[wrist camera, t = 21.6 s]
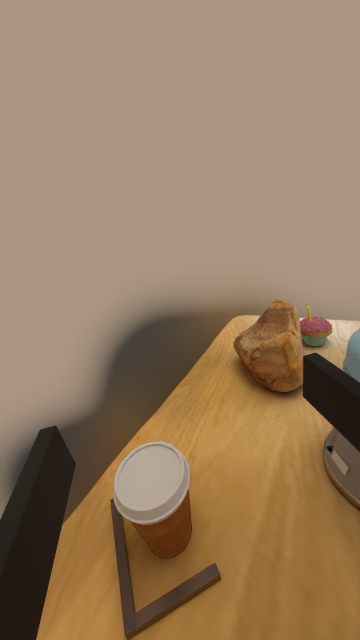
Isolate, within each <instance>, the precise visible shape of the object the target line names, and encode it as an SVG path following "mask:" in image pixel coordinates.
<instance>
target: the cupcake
mask: <svg viewBox="0 0 360 640" xmlns="http://www.w3.org/2000/svg"><path fill="white" fill-rule="evenodd" d="M307 312H308V318H305V319H303V320H302V321H300V327H301V335H302V337H303V340H304V343H305V344H307V345H309V346H320V345H322V344H323V343H324V341H325V339H326V337H327V336H328V335H330V334H331V333H332V325H331V324H330V323H329V322H328V321H327V320H325V319H323V318H318V317H311V314H310V307H309V306H308V304H307Z"/></svg>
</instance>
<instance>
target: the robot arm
mask: <svg viewBox="0 0 360 640" xmlns="http://www.w3.org/2000/svg"><path fill="white" fill-rule="evenodd" d="M343 370H344V371H342V370H341V369H340V368H338V367H337V366H335V365H334V364H332V363H331V362H329V361H328V360H326V359H325V358H323V357H322V356H320V355H319V354H318V353H312V354H309V355H305V356H303V397H304V398H305V399H306V400H307V401H308V402H309V403H310V404H311V405H312V406H313V407H314V408H315V409H316V410H317V411H318V412H319V413H320V414H321V415H322V416H323V417H324V418H325V419H326V420H327V421H328V422H329V423H330V424H332V425H333V426H334V427H333V428H332V430H331V431H330V433H329V434H328V436H327V438H326V440H325V444H324V464H325V468H326V470H327V473H328V475H329V477H330V479H331V480H332V482H333V483H334V485H335V486H336V488H337V489H338V490H339V491H340V492H341V494H342V495H343V496H344V497H345V498H346V499H347V500H348V501H350V502H351V503H352V504H353V505H354V506H355V507H357V508H358V509H359V510H360V329H358V330H357V331H356V332H355V333H354V334H353V335H352V336H351V338H350V339H349V342H348V346H347V353H346V357H345V359H344V362H343ZM75 465H76V464H75V462H74V460H73V458H72V456H71V454H70V452H69V450H68V448H67V446H66V444H65V442H64V440H63V438H62V436H61V434H60V432H59V430H58V428H57V426H52V427H48V428H45V429H42V430H40V431H39V433H38V435H37V438H36V440H35V442H34V445H33V447H32V449H31V451H30V454H29V456H28V458H27V461H26V463H25V465H24V467H23V470H22V472H21V474H20V477H19V479H18V481H17V483H16V486H15V488H14V490H13V493H12V495H11V497H10V499H9V501H8V504H7V506H6V508H5V511H4V513H3V515H2V517H1V520H0V640H36V638H37V633H38V629H39V624H40V620H41V616H42V611H43V607H44V602H45V598H46V593H47V589H48V585H49V580H50V576H51V571H52V567H53V563H54V558H55V554H56V549H57V545H58V540H59V536H60V532H61V527H62V522H63V518H64V514H65V509H66V505H67V501H68V496H69V492H70V487H71V483H72V478H73V474H74V470H75Z"/></svg>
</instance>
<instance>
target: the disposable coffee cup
mask: <svg viewBox="0 0 360 640" xmlns="http://www.w3.org/2000/svg"><path fill="white" fill-rule="evenodd" d="M189 483H190V468H189V464H188V462H187V460H186V458H185V457H184V455H183V454H182V453H181V452H180V451H179V450H178V449H177V448H175V447H174V446H173V445H171V444H169V443H166V442H151V443H147V444H143V445H141V446H139V447H137V448H136V449H134V450H133V451H132V452H131V453H129V454H128V455H127V456H126V457H125V459H124V460H123V461H122V463H121V464H120V466H119V468H118V470H117V473H116V476H115V484H114V489H113V498H114V502H115V505H116V507H117V509H118V511H119V513H120V514H121V515H122V516H123V517H124V518H125V519H127V520H129V521H131V523H132V524H133V525H134V527H135V528H136V529H137V531H138V532H139V534H140V535H141V536H142V538H143V539H144V540H145V542H146V543H147V544H148V546H149V547H150V548H151V550H152V551H153V552H154V554H156V555H157V556H159V557H162V558H171V557H174V556H176V555H178V554H179V553H181V552H182V551H183V550H184V549H185V547H186V546H187V544H188V542H189V540H190V537H191V531H192V525H191V513H190V499H189Z"/></svg>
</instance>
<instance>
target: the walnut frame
mask: <svg viewBox="0 0 360 640" xmlns="http://www.w3.org/2000/svg"><path fill="white" fill-rule="evenodd" d="M111 509H112V518H113V528H114V537H115V546H116V555H117V565H118V574H119V583H120V592H121V602H122V611H123V620H124V629H125V636H126V638H127V640H129V639H130V638H132V637H133V636H135V635H136V634H138V632H141V631H142V630H144V629H145V628H147V627H149V626H150V625H152V624H153V623H155V622H156V621H158V620H159V619H161V618H162V617H164V616H165V615H167V614H168V613H170V612H171V611H173V610H174V609H176V608H178V607H179V606H181V605H182V604H184V603H185V602H187V601H188V600H190V599H191V598H193V597H194V596H196V595H197V594H199V593H200V592H202V591H204V590H205V589H207V588H208V587H210V586H211V585H213V584H214V583H216V582H217V581H219V580H220V579H221V577H220V573H219V571H218V568H217V566H216V564H215V563H214V564H213V565H211V566H209V567H208V568H206V569H205V570H203V571H201V572H200V573H198V574H197V575H195V576H194V577H192V578H190V579H189V580H187V581H186V582H184V583H182V584H181V585H179V586H178V587H176V588H174V589H173V590H171V591H170V592H168V593H167V594H165V595H163V596H162V597H160V598H159V599H157V600H155V601H154V602H152V603H151V604H149V605H148V606H146V607H144V608H143V609H141V610H140V611H138V612H136V611H135V604H134V597H133V590H132V583H131V576H130V569H129V562H128V555H127V548H126V541H125V534H124V527H123V520H122V515H121V514H120V513H119V511H118V509H117V507H116V505H115V502H114V498H113V499H111Z"/></svg>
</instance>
